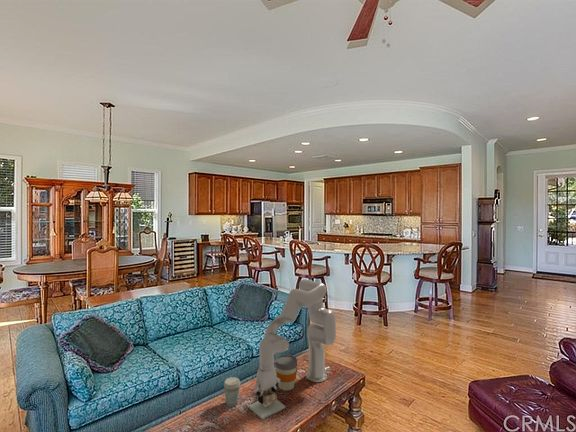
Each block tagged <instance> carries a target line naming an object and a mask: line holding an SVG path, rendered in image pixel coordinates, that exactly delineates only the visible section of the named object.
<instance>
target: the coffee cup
mask: <svg viewBox="0 0 576 432" xmlns="http://www.w3.org/2000/svg"><path fill="white" fill-rule="evenodd" d="M240 386H241V381H240V379H239V378H238V377H236V376H230V377H227V378H226V379H225V380H224V383H223V387H224V394H225V404H226V406H227V407H229V408H234V407H236V406H237V405H238V403H239V396H240V395H239V394H240Z"/></svg>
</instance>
